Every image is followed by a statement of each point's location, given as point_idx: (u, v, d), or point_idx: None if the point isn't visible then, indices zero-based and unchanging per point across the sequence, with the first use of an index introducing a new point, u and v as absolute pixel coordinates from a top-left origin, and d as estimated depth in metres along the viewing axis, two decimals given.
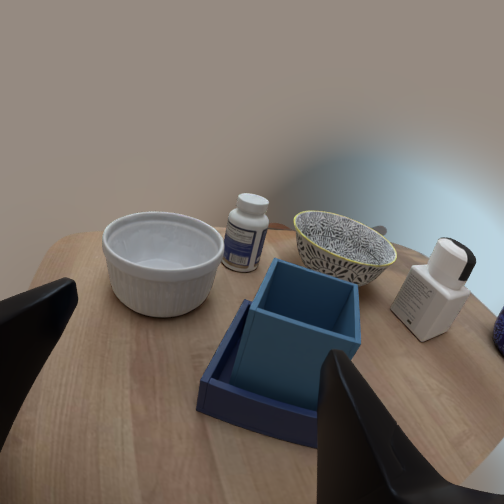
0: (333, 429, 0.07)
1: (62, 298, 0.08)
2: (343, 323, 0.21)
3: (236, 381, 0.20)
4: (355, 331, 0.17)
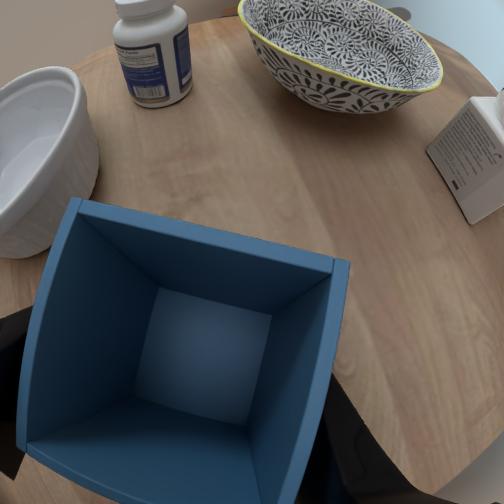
0: None
1: None
2: (292, 369, 0.08)
3: None
4: None
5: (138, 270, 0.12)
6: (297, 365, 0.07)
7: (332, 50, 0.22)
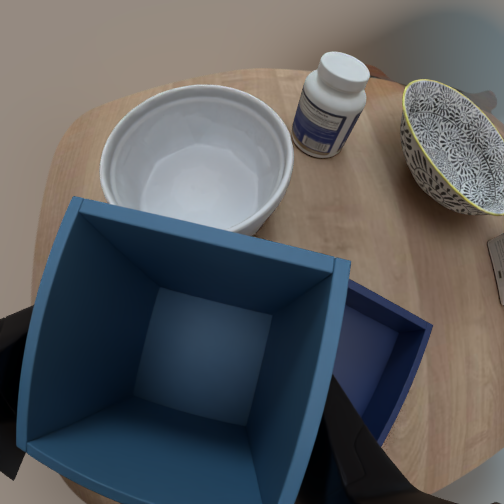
0: None
1: None
2: (292, 368, 0.08)
3: None
4: None
5: (138, 270, 0.12)
6: (298, 364, 0.07)
7: (443, 143, 0.27)
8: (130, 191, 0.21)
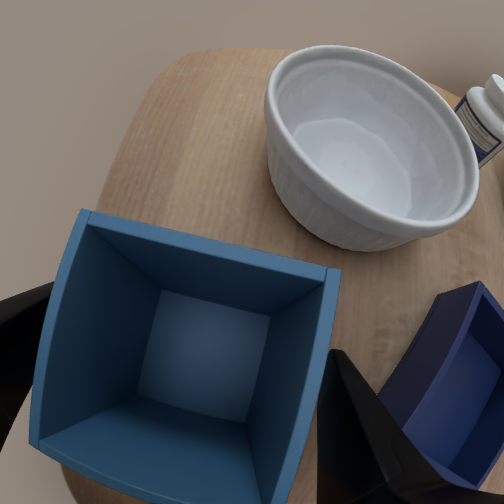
0: (333, 429, 0.07)
1: None
2: (288, 369, 0.08)
3: None
4: (274, 495, 0.05)
5: (142, 274, 0.12)
6: (293, 365, 0.08)
7: None
8: None
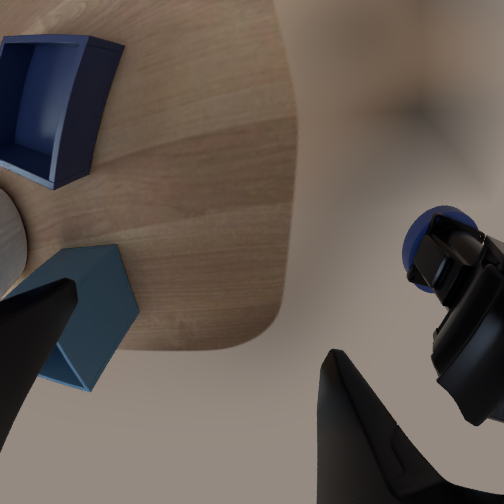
0: (333, 429, 0.07)
1: (62, 298, 0.08)
2: None
3: (125, 327, 0.23)
4: None
5: None
6: None
7: None
8: None
